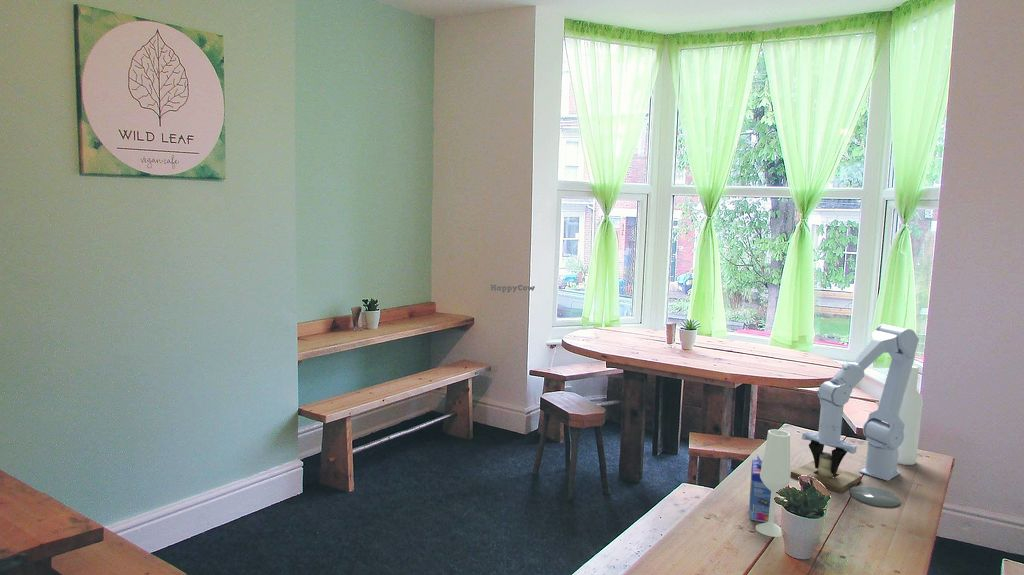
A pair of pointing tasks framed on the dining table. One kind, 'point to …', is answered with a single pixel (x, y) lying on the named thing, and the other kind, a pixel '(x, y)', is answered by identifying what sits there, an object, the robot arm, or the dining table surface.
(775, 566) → the dining table surface
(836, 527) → the dining table surface
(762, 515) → the ink cartridge box
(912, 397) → the bottle
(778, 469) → the champagne flute
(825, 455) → the small jar
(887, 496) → the disc
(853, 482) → the socket block
